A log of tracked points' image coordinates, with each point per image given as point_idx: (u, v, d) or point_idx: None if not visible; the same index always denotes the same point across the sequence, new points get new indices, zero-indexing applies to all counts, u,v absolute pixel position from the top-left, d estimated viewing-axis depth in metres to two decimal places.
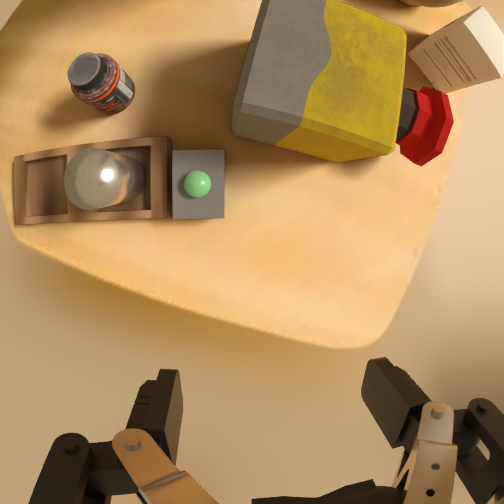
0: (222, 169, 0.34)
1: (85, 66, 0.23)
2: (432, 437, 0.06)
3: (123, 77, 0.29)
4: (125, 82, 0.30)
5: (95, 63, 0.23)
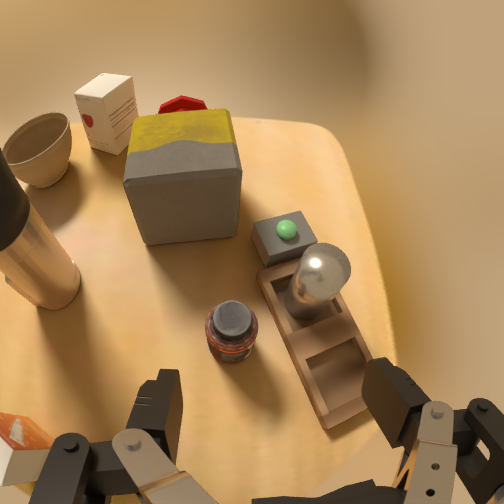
0: (268, 220, 0.46)
1: (229, 315, 0.31)
2: (432, 437, 0.06)
3: None
4: None
5: (224, 306, 0.31)
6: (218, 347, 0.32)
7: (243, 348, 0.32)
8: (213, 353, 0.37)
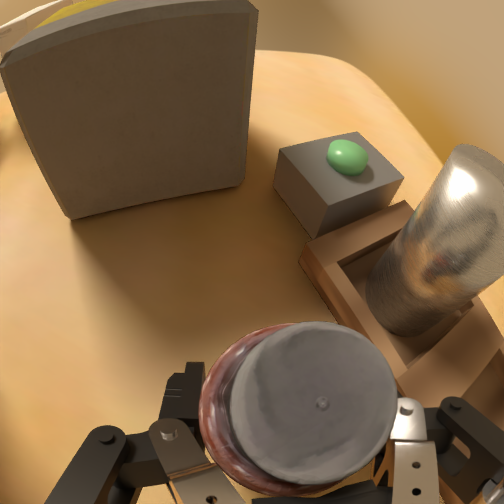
0: (307, 144, 0.22)
1: (310, 396, 0.06)
2: (406, 435, 0.07)
3: None
4: None
5: (278, 355, 0.06)
6: None
7: None
8: None
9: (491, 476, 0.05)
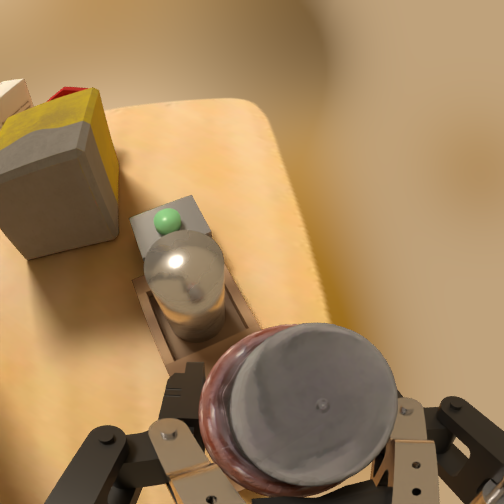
0: (147, 212, 0.34)
1: (310, 398, 0.06)
2: (406, 435, 0.07)
3: None
4: None
5: (278, 356, 0.06)
6: None
7: None
8: None
9: (491, 476, 0.05)
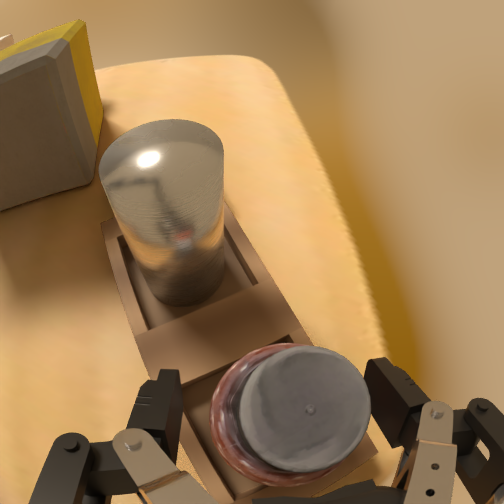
0: None
1: (301, 404, 0.08)
2: (432, 437, 0.06)
3: None
4: None
5: (276, 373, 0.08)
6: (261, 482, 0.09)
7: (333, 469, 0.09)
8: None
9: None
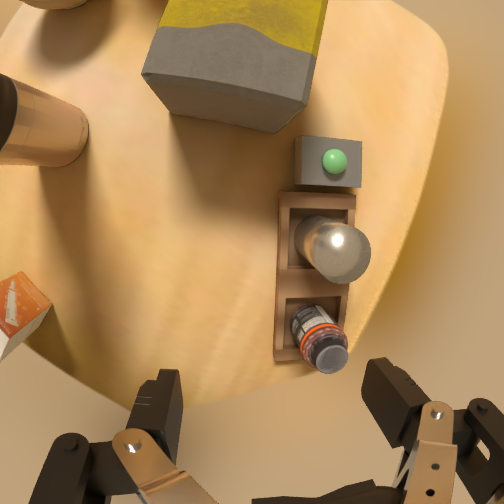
0: (320, 138, 0.35)
1: (331, 358, 0.32)
2: (432, 437, 0.06)
3: (319, 318, 0.37)
4: (320, 316, 0.38)
5: (331, 350, 0.32)
6: (307, 362, 0.36)
7: None
8: None
9: None
